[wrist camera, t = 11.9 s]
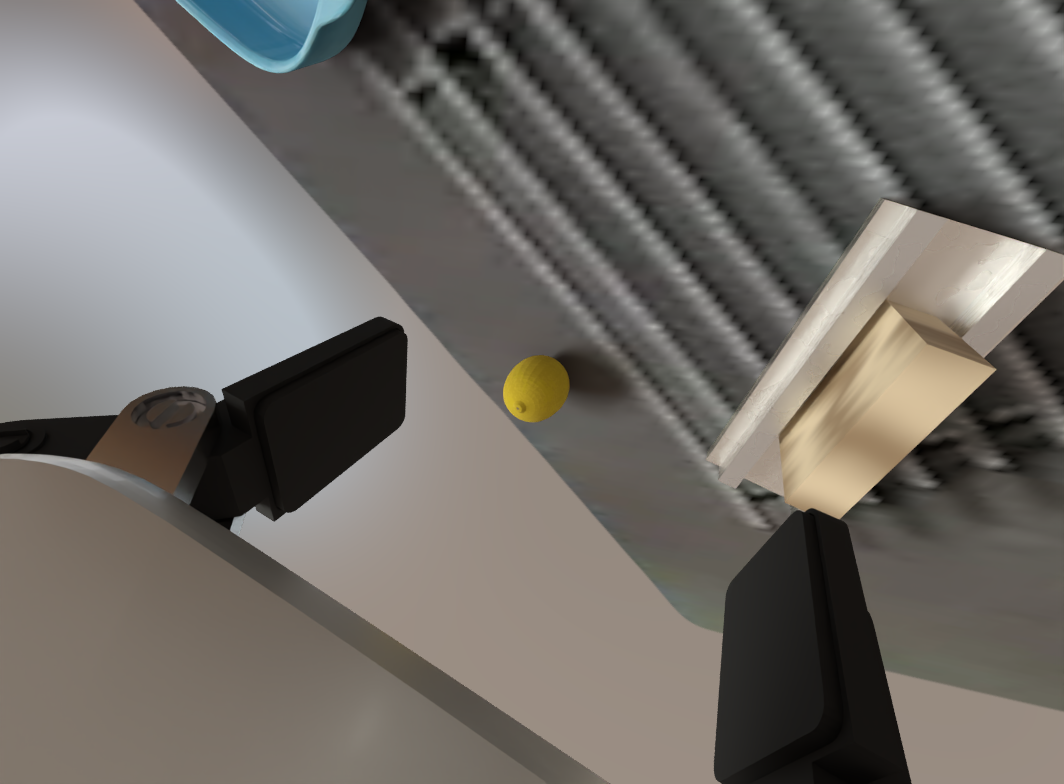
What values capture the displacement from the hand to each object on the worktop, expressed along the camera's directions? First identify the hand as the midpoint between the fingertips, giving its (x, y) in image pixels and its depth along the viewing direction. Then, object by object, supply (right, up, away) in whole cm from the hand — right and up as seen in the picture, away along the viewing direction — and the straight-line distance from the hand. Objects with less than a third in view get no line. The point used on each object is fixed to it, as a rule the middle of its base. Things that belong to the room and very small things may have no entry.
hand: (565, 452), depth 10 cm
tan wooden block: (+22, +2, +20) cm, 30 cm away
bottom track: (+22, +2, +21) cm, 31 cm away
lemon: (+1, +4, +31) cm, 32 cm away
